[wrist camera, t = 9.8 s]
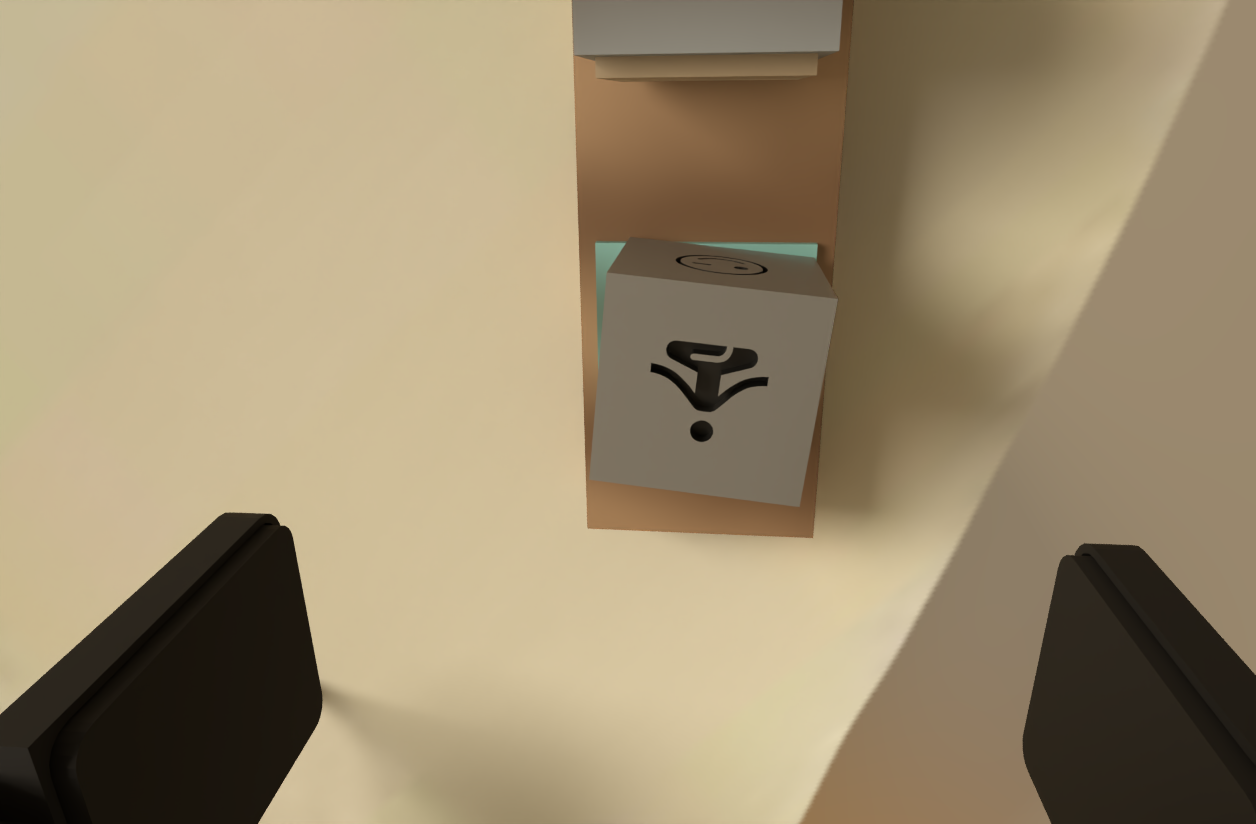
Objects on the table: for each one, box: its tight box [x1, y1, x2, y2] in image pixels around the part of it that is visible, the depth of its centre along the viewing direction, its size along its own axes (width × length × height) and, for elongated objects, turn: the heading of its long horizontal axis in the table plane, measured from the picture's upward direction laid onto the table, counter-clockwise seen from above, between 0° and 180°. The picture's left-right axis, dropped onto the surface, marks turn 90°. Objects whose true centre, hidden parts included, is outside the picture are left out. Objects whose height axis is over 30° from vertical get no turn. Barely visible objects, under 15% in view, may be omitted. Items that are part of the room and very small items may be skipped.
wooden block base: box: [572, 0, 854, 538], centre depth 21 cm, size 20×7×9 cm, turn 0°
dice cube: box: [589, 237, 838, 507], centre depth 21 cm, size 5×5×5 cm
